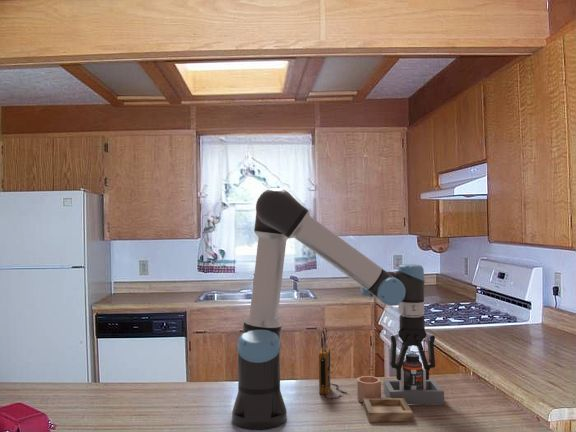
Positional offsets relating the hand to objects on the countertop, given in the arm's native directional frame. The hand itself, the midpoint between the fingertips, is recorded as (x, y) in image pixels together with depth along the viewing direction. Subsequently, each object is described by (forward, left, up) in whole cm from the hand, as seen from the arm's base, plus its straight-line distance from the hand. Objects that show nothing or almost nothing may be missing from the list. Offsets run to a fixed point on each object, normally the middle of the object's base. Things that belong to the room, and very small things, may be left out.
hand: (412, 390), depth 156 cm
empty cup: (-14, -1, -3) cm, 14 cm away
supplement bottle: (0, 0, -1) cm, 1 cm away
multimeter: (-23, +6, -3) cm, 24 cm away
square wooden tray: (-10, -12, -3) cm, 16 cm away
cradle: (0, 0, -3) cm, 3 cm away
